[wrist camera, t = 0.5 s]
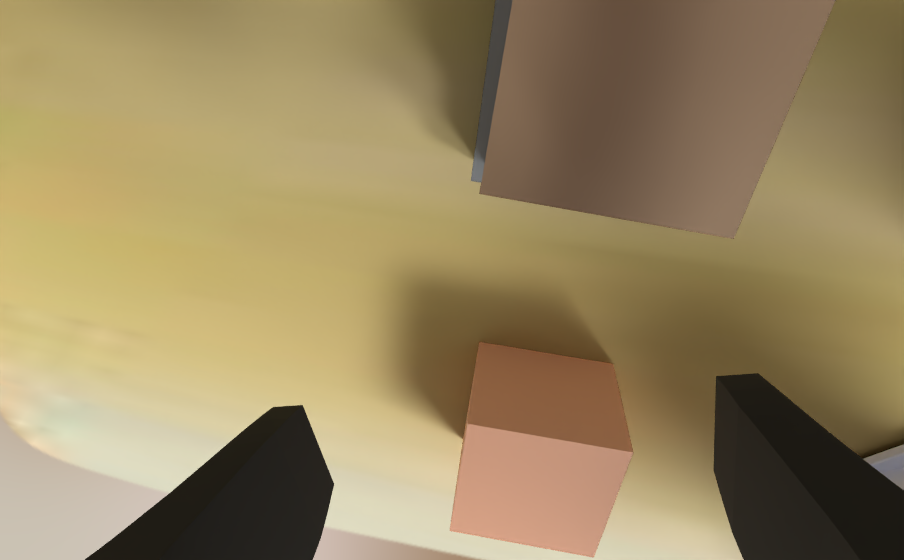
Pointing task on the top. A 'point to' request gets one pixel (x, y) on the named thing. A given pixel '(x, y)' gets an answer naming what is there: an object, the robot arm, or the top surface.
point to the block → (541, 450)
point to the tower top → (646, 105)
